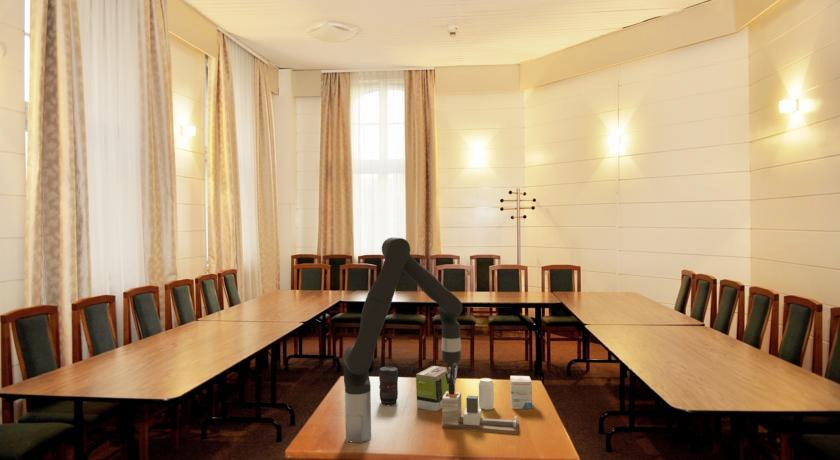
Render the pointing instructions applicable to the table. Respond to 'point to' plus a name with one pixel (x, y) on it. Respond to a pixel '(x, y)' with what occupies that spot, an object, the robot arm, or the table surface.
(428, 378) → the tea box
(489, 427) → the rail board
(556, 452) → the table surface
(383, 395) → the camera lens
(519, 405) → the ink box
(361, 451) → the table surface
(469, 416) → the carriage
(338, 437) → the table surface
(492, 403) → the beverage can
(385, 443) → the table surface
